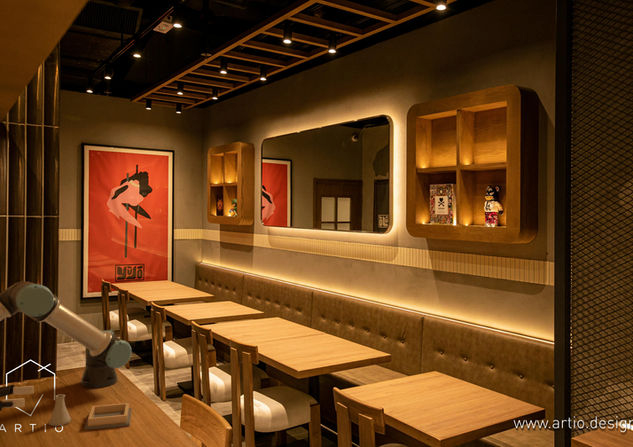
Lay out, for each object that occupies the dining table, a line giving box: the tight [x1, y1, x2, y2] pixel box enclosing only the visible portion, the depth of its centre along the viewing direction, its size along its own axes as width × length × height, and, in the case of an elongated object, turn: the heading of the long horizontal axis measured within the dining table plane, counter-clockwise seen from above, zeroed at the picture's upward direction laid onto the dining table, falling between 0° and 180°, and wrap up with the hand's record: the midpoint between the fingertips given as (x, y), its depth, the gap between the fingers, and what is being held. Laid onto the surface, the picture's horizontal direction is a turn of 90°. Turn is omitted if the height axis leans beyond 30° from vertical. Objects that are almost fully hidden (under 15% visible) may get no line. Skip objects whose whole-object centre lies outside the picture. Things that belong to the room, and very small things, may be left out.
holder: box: [84, 402, 133, 431], centre depth 194 cm, size 15×15×4 cm
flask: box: [48, 393, 72, 427], centre depth 191 cm, size 7×7×10 cm
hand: (28, 395), depth 187 cm, fingers open, 13 cm apart
